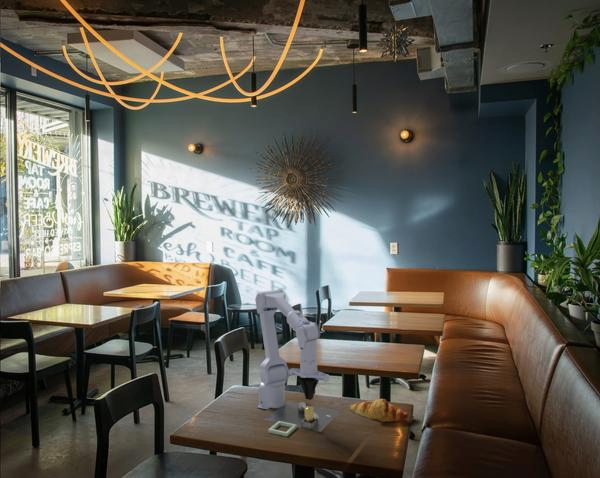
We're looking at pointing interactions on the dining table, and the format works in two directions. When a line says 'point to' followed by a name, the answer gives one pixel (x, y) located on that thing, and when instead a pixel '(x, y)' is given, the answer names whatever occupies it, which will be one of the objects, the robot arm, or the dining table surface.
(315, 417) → the crank
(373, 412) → the croissant
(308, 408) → the olive brown rounded cylinder
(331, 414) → the crank plate
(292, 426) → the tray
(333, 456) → the dining table surface
